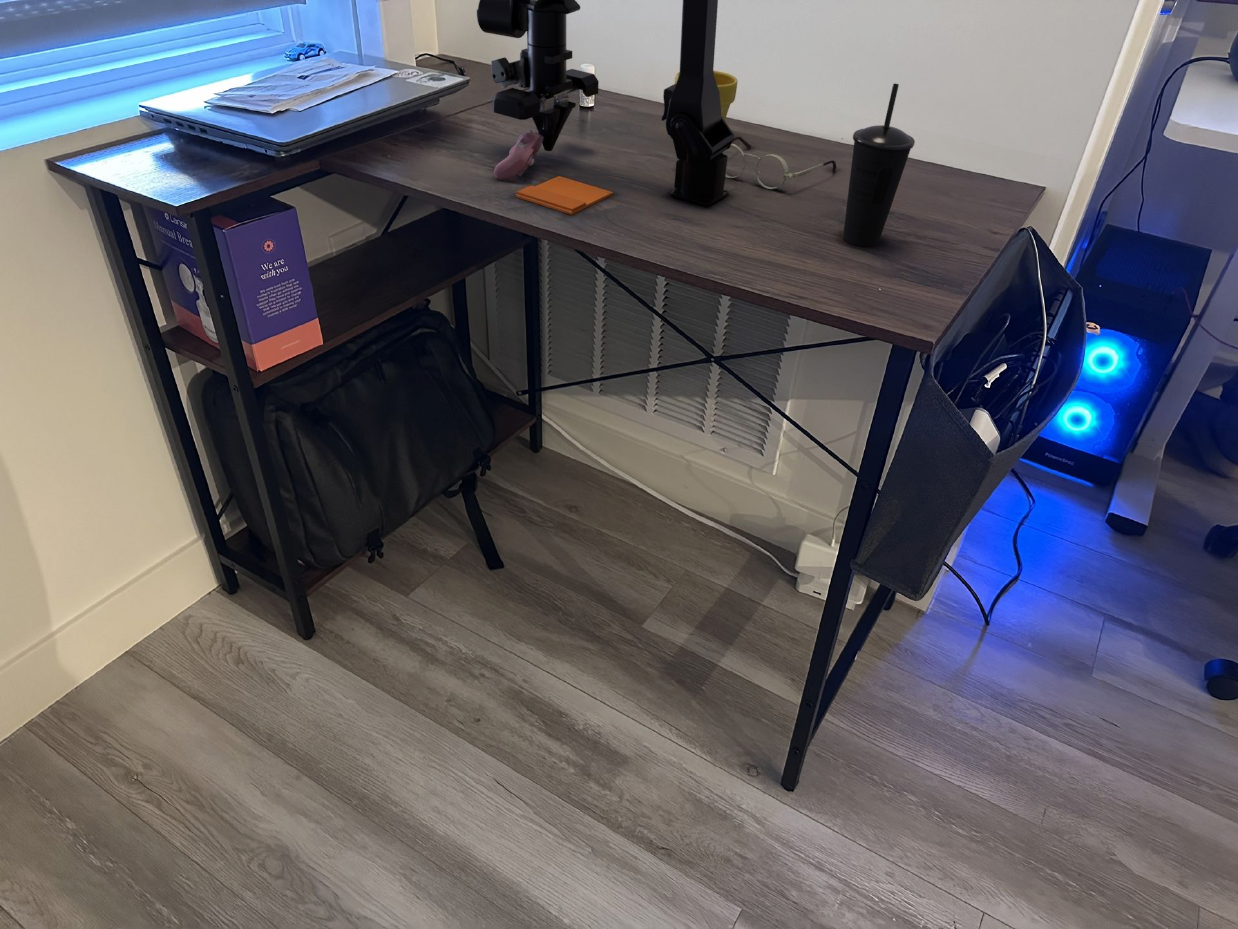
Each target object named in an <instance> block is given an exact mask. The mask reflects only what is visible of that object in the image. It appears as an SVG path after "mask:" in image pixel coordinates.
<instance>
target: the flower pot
mask: <svg viewBox="0 0 1238 929" xmlns="http://www.w3.org/2000/svg"><path fill="white" fill-rule="evenodd" d="M713 71H714V77H715V80H716V83H717V86H718V89H719V92H720V103H721V116H722V118H723V119H724V120H725V121H726V118H727V115H728V112H729V109H730V106H731V105H732V104H733V103H734V102H735V100H736V95H737V89H738V79H737V77H736V76H734V75H732V74H731V73H728V72H724V71H718V70H713ZM679 72H680V71H678V72H677V73H676V74H675V77H674V84H676V82H677V80H678V77H679Z"/></svg>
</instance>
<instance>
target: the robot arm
mask: <svg viewBox="0 0 1238 929" xmlns="http://www.w3.org/2000/svg"><path fill="white" fill-rule="evenodd" d="M718 4H719V0H682V9H681V30H680V31H681V32H680V33H681V34H680V35H681V36H680V51H679V52H680V56H679V71H678V72H679V77H678V80H677V82H676V84H675V83H674V84H672V85H670V86H668V87H666V88H663V95H662V96H663V97H662V98H663V106H664V108H663V109H664V110H663V114H662V117H661V121H665V130H666V133H667V135H668V136H669V137H670V138H671V139H672V143H673V147H674V151H675V155H676V158H677V160H676V161H675V172H674V184H673V187H674V190H672V191H670V197H672V198H675V199H679V200H682V201H686V202H690V203H693V204H697V205H700V206H704V207H710V206H711V205H713V204H715V203H717V202H718V201H720V200H722V199H723V198H725V197H727V196H729V194H730V193H729V190H726V189H725V184H726V182H725V181H726V177H725V175H726V174H727V166H728V155H727V154H724V152H725V151H727V150H729V149H731V147H732V146H731V144H733V142H734V141H733V140H734V138H736V136H735V133H734V132H733V131H732V129H731V128H730V126H729V124H728V123H727V122H726V119H725V120H724V119H723V118H722V116H721V103H720V92H719V89H718V86H717V83H716V80H715V77H714V71H715V70H714V66H715V53H716V52H715V51H716V37H717V23H718V21H717V19H718V6H719V5H718ZM477 5H478V6H477V9H476V20H477V24H478V26H479V29H480V30H481V31H482V32H483V33H486V34H490V35H491V34H492V35H497V36H502V37H508V38H514V39H521V38H522V37H524V36H525V34H526V46H527V47H526V48H523V49H521V50H520V53H519V59H518V60H515V61H512V62H509V59H508V58H507V57H505V56H504V57H501V58H497V59H494V60H490V62H491V63H490V74H491V78H492V81H493V82H494V83H495V84H500V86H501V89H504V90H501V91H497V92H496V93H495V94H494V96H493V97H492V108H493V109H492V110H493V113H494V114H498V115H501V116H506V117H509V118H512V119H516V120H520V121H524V120H525V121H527V120H529V119H532V120H533V124H534V125H535V127H536V130H537V133H539V134H541V136H543V137H544V139H543V141H542V144H541V145H542V147H543V149H544V151H546V152H552V151H553V149H554V147H555V146H556V143H557V141H558V138H559V137H560V134H561V132H562V130H563V129H564V127H565V124H566V122H567V120H568V118H569V116H570V115H571V113H572V111H573V109H574V108H576V106H577V103H576V102H573V101H570V96H569V95H568V94H569V93H573V92H575V91H576V92H577V91H579V90H580V91H582V93H583V95H584V96H585V97H587V98H590V97H593V96H595V95H599V87H600V86H599V85H600V84H599V83H600V82H599V80H598V78H597V77H596V74H595V73H592V72H587V71H583V70H579V69H574V68H569V69H567V61H568V60H571V59H573V50H570V49H567V15H569V14H572V13H575V12H578V11H580V10H581V4H579V2H578V1H576V0H479V2H478V4H477ZM517 84H518V87H519V88H521V89H519V88H516V87H510V88H508V86H512V85H517ZM505 88H507V89H505ZM523 89H528V90H529V91H527V90H523Z"/></svg>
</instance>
